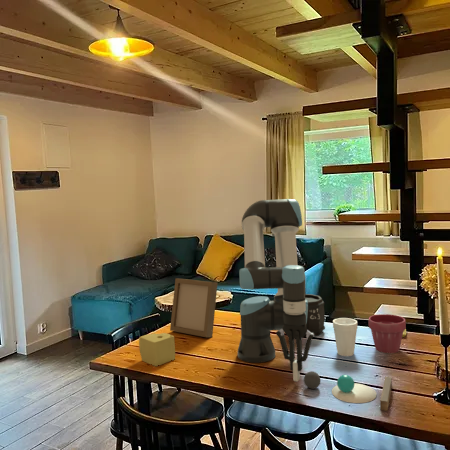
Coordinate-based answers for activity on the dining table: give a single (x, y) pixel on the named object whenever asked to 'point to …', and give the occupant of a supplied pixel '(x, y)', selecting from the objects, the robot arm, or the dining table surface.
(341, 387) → the object ball
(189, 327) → the photo frame
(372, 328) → the plant pot
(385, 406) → the rail
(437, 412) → the dining table surface
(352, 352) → the foam cup
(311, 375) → the gray ball
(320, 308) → the black lettered pot
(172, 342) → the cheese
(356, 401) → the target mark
